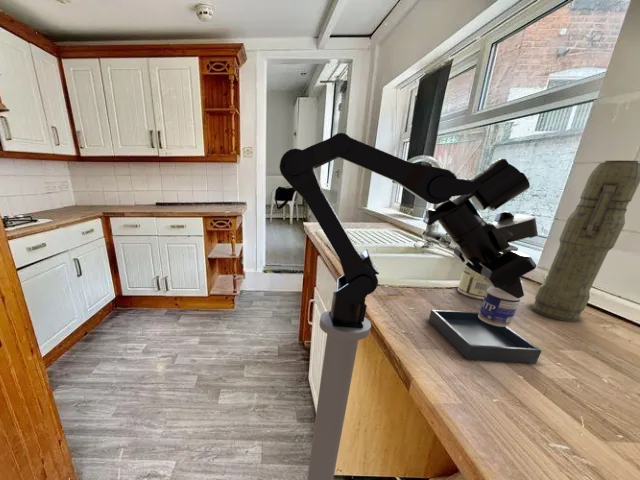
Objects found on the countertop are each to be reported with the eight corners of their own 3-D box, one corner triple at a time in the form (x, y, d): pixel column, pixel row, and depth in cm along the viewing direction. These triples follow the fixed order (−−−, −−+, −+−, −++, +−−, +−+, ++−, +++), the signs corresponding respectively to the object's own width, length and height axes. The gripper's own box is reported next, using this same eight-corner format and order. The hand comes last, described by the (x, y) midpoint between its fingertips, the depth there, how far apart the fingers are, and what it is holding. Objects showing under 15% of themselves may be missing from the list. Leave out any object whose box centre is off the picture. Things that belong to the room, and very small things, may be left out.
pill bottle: (472, 313, 63) (486, 273, 60) (499, 316, 62) (515, 275, 59) (486, 326, 58) (502, 282, 55) (516, 329, 58) (534, 285, 54)
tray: (466, 359, 56) (471, 346, 55) (428, 320, 70) (431, 309, 69) (536, 363, 55) (542, 350, 54) (483, 323, 69) (487, 312, 68)
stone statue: (576, 310, 78) (646, 162, 65) (581, 327, 69) (663, 160, 56) (531, 300, 83) (587, 161, 70) (531, 314, 75) (595, 159, 62)
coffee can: (487, 288, 91) (503, 241, 86) (508, 302, 81) (527, 251, 76) (450, 285, 92) (464, 239, 87) (466, 298, 83) (483, 248, 78)
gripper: (545, 203, 44) (602, 284, 46) (488, 193, 61) (532, 253, 63) (468, 250, 49) (522, 322, 50) (435, 229, 66) (476, 284, 67)
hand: (513, 291), depth 58 cm, fingers closed on pill bottle, 5 cm apart
